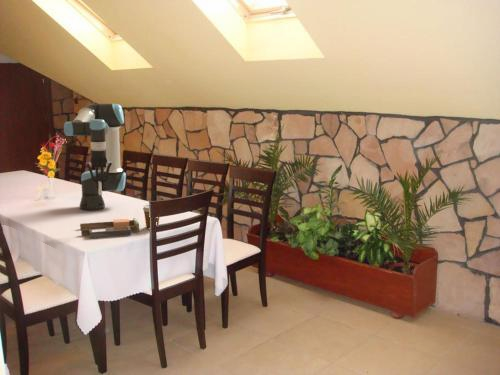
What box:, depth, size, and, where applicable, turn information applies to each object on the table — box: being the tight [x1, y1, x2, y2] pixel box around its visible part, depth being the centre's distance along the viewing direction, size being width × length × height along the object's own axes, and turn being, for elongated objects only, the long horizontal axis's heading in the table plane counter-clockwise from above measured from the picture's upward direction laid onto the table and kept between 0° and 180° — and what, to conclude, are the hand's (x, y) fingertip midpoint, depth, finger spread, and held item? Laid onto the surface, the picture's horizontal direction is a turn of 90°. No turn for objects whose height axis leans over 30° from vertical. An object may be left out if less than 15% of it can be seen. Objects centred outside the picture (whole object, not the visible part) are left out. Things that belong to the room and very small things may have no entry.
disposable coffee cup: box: [142, 204, 160, 230], centre depth 282 cm, size 10×10×12 cm
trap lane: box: [79, 217, 140, 239], centre depth 274 cm, size 19×29×4 cm, turn 110°
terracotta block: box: [112, 218, 130, 230], centre depth 279 cm, size 6×8×5 cm
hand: (100, 194), depth 273 cm, fingers closed
